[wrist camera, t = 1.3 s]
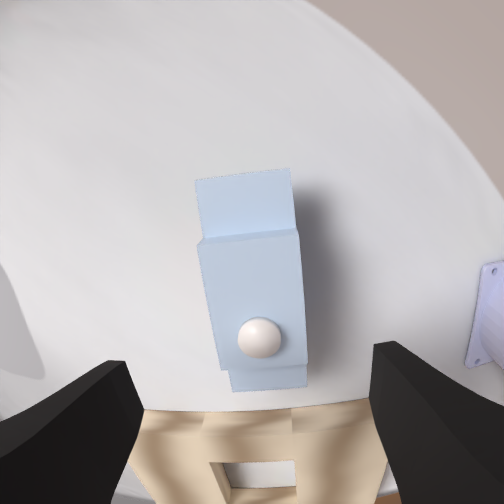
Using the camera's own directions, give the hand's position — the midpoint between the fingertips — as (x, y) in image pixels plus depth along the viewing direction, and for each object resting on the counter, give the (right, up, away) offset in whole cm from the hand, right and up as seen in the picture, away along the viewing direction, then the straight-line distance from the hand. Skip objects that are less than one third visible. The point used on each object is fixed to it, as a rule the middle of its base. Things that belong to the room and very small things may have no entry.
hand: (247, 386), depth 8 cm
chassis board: (+1, -14, +14) cm, 19 cm away
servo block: (+1, +3, +9) cm, 9 cm away
